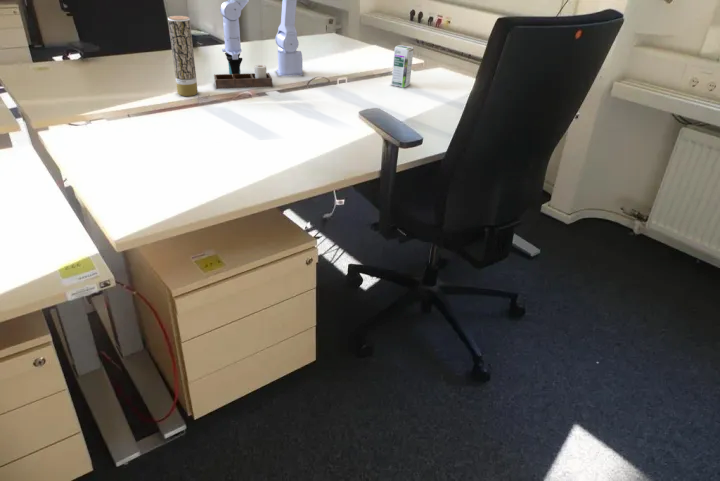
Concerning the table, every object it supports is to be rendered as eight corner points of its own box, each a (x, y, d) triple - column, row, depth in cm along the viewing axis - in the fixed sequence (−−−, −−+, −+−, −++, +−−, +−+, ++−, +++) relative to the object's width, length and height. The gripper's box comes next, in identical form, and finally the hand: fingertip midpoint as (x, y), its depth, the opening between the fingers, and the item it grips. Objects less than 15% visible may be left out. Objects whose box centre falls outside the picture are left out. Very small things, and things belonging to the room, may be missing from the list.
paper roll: (240, 76, 208) (238, 59, 205) (241, 79, 205) (240, 62, 201) (229, 77, 207) (227, 59, 204) (230, 80, 204) (228, 62, 200)
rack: (269, 82, 204) (268, 72, 202) (272, 87, 198) (272, 78, 197) (214, 84, 199) (213, 74, 197) (216, 89, 193) (215, 80, 191)
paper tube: (192, 97, 184) (183, 20, 171) (174, 95, 185) (163, 18, 172) (201, 92, 190) (193, 16, 176) (183, 90, 191) (174, 14, 177)
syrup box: (390, 85, 209) (394, 46, 201) (397, 82, 213) (400, 44, 206) (404, 88, 207) (408, 49, 199) (410, 84, 211) (414, 46, 204)
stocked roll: (265, 82, 202) (265, 64, 199) (267, 85, 199) (266, 67, 195) (254, 82, 201) (253, 64, 198) (256, 85, 198) (255, 67, 194)
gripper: (219, 32, 203) (222, 69, 210) (222, 41, 191) (225, 79, 198) (238, 32, 204) (240, 68, 212) (242, 41, 193) (245, 79, 200)
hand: (234, 74), depth 205 cm, fingers open, 5 cm apart
